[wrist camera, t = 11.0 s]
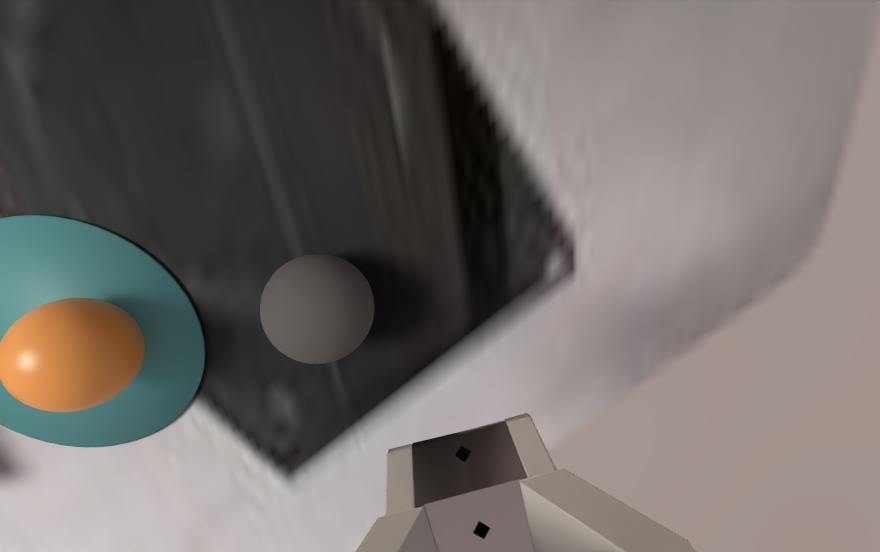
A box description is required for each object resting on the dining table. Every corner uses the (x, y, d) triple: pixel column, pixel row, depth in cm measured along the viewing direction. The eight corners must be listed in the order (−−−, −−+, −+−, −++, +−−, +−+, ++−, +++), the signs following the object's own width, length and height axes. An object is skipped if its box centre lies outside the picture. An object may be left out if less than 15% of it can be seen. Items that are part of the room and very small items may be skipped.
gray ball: (409, 332, 22) (354, 307, 26) (371, 241, 19) (316, 228, 23) (322, 404, 19) (275, 363, 23) (264, 309, 17) (222, 281, 21)
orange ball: (176, 383, 22) (148, 360, 25) (127, 285, 20) (105, 276, 24) (39, 454, 18) (30, 415, 22) (-35, 342, 16) (-31, 320, 20)
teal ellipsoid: (16, 469, 26) (13, 472, 25) (-143, 253, 21) (-148, 254, 21) (243, 411, 26) (242, 413, 26) (136, 185, 21) (134, 185, 21)
